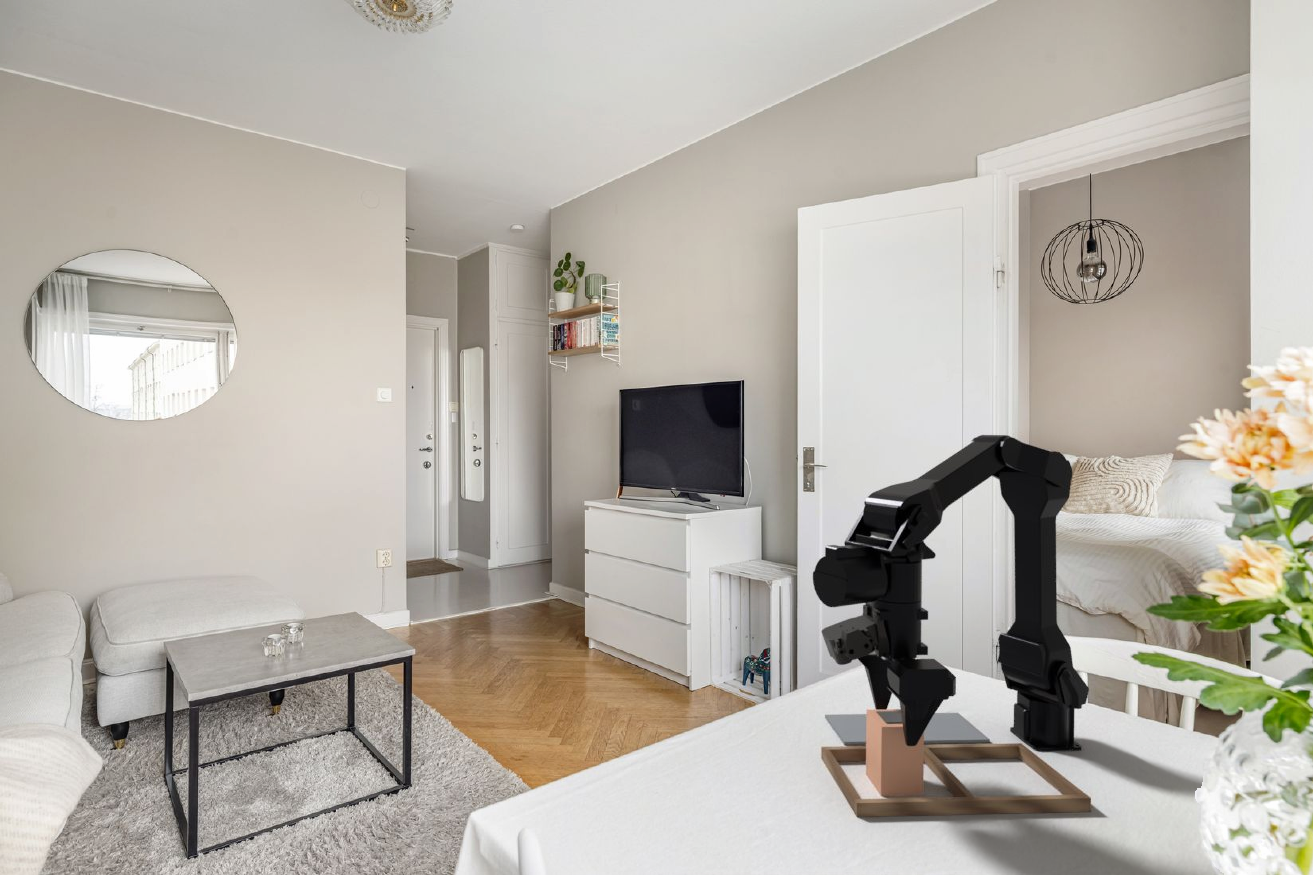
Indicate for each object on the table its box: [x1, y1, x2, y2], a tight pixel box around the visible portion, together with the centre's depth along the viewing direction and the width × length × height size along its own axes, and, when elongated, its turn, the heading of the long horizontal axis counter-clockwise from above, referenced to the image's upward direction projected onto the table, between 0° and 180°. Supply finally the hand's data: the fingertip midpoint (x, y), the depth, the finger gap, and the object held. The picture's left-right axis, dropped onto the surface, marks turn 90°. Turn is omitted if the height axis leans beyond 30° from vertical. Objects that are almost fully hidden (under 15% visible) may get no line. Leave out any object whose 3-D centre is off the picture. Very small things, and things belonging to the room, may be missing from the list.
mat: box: [824, 712, 991, 746], centre depth 99 cm, size 20×9×1 cm, turn 93°
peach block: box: [865, 708, 925, 797], centre depth 84 cm, size 5×5×8 cm
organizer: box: [820, 742, 1092, 818], centre depth 84 cm, size 26×14×2 cm, turn 93°
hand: (895, 728), depth 84 cm, fingers open, 9 cm apart
